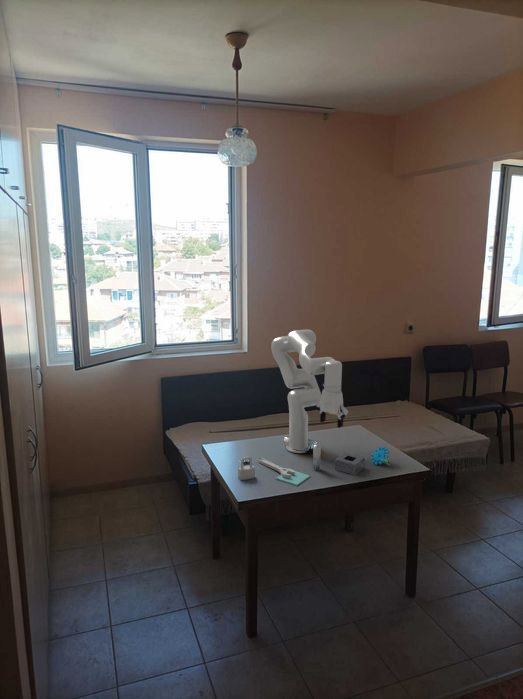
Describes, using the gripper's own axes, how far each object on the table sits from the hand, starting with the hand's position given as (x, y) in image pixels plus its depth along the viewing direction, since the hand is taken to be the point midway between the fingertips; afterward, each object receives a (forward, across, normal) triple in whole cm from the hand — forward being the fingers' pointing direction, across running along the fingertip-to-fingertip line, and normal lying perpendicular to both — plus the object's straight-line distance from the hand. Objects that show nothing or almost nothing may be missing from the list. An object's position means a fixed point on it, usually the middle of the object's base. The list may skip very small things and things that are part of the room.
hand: (331, 424), depth 225 cm
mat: (+22, -6, -19) cm, 30 cm away
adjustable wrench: (+22, -18, -17) cm, 33 cm away
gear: (+22, +13, +23) cm, 34 cm away
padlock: (+22, -21, -33) cm, 45 cm away
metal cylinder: (+22, -4, -4) cm, 23 cm away
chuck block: (+22, +6, +8) cm, 24 cm away
